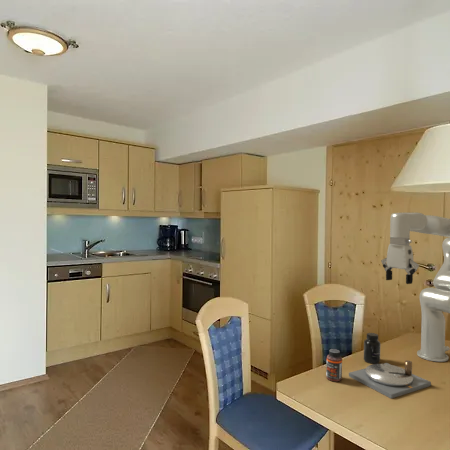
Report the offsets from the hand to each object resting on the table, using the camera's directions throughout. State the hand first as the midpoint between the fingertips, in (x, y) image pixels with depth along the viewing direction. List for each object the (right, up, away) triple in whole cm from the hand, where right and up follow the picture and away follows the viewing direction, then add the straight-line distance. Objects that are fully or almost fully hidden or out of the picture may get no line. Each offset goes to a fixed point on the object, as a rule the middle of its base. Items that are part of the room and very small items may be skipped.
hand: (398, 281), depth 157 cm
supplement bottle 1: (-31, -37, -11) cm, 50 cm away
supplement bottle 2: (-9, -37, +7) cm, 38 cm away
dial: (-10, -35, -13) cm, 39 cm away
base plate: (-10, -37, -13) cm, 40 cm away
